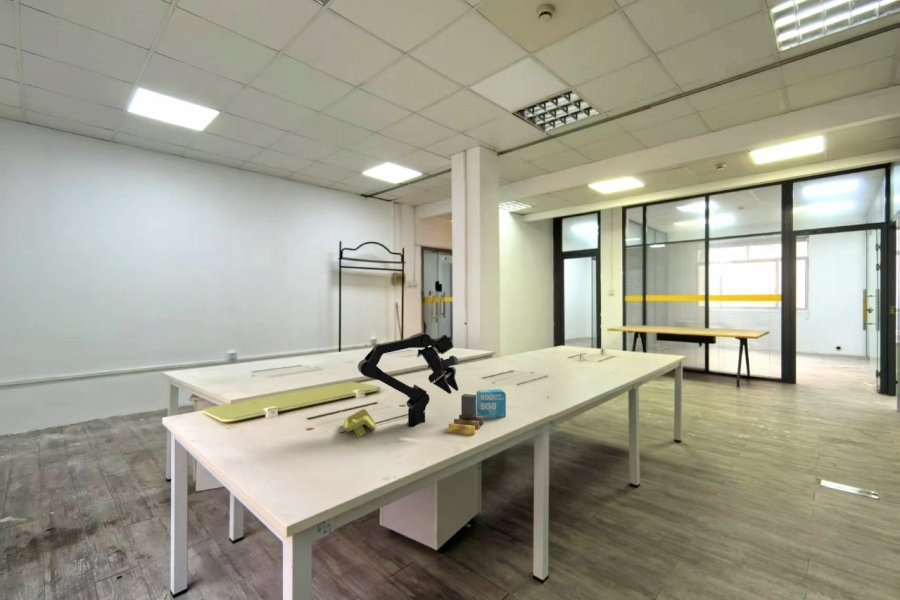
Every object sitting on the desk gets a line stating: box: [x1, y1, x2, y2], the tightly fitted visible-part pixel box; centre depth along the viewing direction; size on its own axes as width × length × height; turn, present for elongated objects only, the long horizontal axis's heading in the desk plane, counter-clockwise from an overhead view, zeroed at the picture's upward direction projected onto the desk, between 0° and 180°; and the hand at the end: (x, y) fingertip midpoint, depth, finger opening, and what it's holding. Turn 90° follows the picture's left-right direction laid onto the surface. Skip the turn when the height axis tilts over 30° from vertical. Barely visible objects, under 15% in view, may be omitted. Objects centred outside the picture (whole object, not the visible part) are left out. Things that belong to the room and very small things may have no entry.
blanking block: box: [460, 393, 477, 421], centre depth 150 cm, size 5×4×12 cm
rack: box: [448, 414, 484, 436], centre depth 147 cm, size 10×13×4 cm
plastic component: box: [342, 408, 377, 438], centre depth 147 cm, size 20×7×10 cm
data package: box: [475, 388, 507, 419], centre depth 163 cm, size 12×4×12 cm, turn 98°
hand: (454, 391), depth 153 cm, fingers open, 9 cm apart
